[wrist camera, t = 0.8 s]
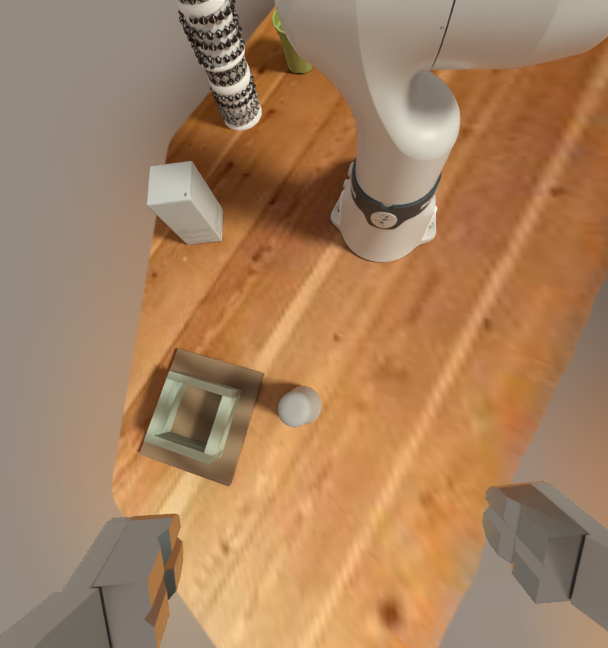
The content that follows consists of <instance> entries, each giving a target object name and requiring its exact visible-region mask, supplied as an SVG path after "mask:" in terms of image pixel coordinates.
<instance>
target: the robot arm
mask: <svg viewBox="0 0 608 648" xmlns="http://www.w3.org/2000/svg"><path fill="white" fill-rule="evenodd" d="M274 1H275V6H276V9H277V13H278V17H279V20H280V22H281V25H282V27H283V30H284V32H285V34H286V36H287V38H288V40H289V42H290V44H291V45H292V47H293V48H294V50H295V51H296V53H297V54H298V55H299V56H300V57H301V58H302V59H303V60H305V61H306V62H308V63H309V64H311V65H312V66H314V67H315V68H316V69H317V70H319V71H320V72H321V73H322V74H323V75H325V76H326V77H327V78H328V79H329V80H330V81H331V83H332V84H333V85H334V86H335V87H336V88H337V90H338V91H339V92H340V94H341V95H342V96H343V98H344V100H345V101H346V103H347V104H348V106H349V108H350V110H351V112H352V115H353V117H354V120H355V125H356V140H357V149H356V158H355V161H354V162H352V163H351V165H350V167H349V170H348V176H349V177H350V178H349V180H348V179H345V181H344V184H343V187H344V190H343V191H342V193H341V195H340V197H339V199H338V201H337V203H336V205H335V207H334V209H333V211H332V213H331V217H330V219H331V221H332V223H333V224H334V225H335V226H336V227H337V228H338V229H339V230H340V231H341V233H342V236H343V238H344V241H345V242H346V244H347V246H348V247H349V248H350V249H351V250H352V251H353V252H354V253H355V254H357V255H358V256H360V257H362V258H364V259H367V260H370V261H375V262H389V261H394V260H397V259H400V258H402V257H404V256H405V255H407V254H408V253H410V252H411V251H412V250H413V249H414V248H415V247H417V246H418V245H420V244H423V243H426V242H429V241H431V240H432V239H433V238H434V237H435V234H436V211H437V207H436V206H435V204H436V199H435V193H436V191H437V189H438V186H439V185H438V184H439V182H440V179H441V172H442V169H443V166H444V164H445V162H446V160H447V158H448V156H449V154H450V152H451V150H452V148H453V146H454V143H455V141H456V139H457V136H458V133H459V128H460V111H459V107H458V104H457V101H456V99H455V97H454V95H453V94H452V92H451V90H450V89H449V87H448V86H447V84H446V83H445V82H444V81H443V80H441V79H440V78H439V77H438V76H436V75H435V74H433V73H432V72H430V71H429V70H447V69H517V68H522V67H527V66H531V65H536V64H541V63H546V62H550V61H554V60H558V59H562V58H566V57H570V56H574V55H578V54H582V53H584V52H586V51H588V50H590V49H592V48H593V47H595V46H596V45H597V44H599V43H600V42H601V41H602V40H604V39H605V38H606V37H607V36H608V0H274ZM338 211H339V212H338ZM429 227H430V229H429ZM485 499H486V501H487V502H488V504H489V505H490V506H489V507H488V508H487V509H486V511H485V512H484V513H483V528H484V531H485V535H486V537H487V539H488V541H489V543H490V545H491V547H492V548H493V549H494V551H495V552H496V553H497V555H498V556H500V557H501V558H503V559H504V560H506V561H507V562H509V563H510V564H511V570H512V574H513V575H514V577H515V578H516V579H517V581H518V582H519V583H520V584H521V586H522V587H523V588H524V590H525V591H526V592H527V594H528V595H529V596H530V597H531V599H532V600H533V601H534V603H535V604H540V603H551V602H562V601H571V604H572V605H574V606H575V607H576V608H578V609H579V610H580V611H582V612H583V613H584V614H586V615H587V616H588V617H590V618H591V619H592V620H594V621H595V622H596V623H598V624H599V625H600V626H602V627H603V628H604V629H606V630H607V631H608V529H606V528H605V527H604V526H603V525H601V524H600V523H599V522H597V521H596V520H595V519H594V518H593V517H591V516H590V515H589V514H587V513H586V512H585V511H584V510H582V509H581V508H580V507H579V506H577V505H576V504H575V503H574V502H572V501H571V500H570V499H569V498H567V497H566V496H565V495H564V494H562V493H561V492H560V491H558V490H557V489H556V488H555V487H553V486H552V485H551V484H549V483H547V482H544V481H538V482H528V483H520V484H509V485H499V486H490V487H489V489H488V490H487V492H486V498H485ZM180 527H181V525H180V518H179V515H178V514H162V515H145V516H134V517H120V518H112V519H111V520H109V521H108V522H107V523H106V524H105V526H104V527H103V529H102V530H101V532H100V533H99V535H98V536H97V538H96V539H95V541H94V543H93V544H92V546H91V547H90V549H89V550H88V552H87V553H86V555H85V556H84V558H83V559H82V561H81V562H80V564H79V565H78V567H77V569H76V570H75V572H74V573H73V575H72V576H71V578H70V579H69V581H68V582H67V584H66V586H65V587H64V588H63V590H62V592H55V593H53V594H51V595H50V596H49V597H47V599H45V600H44V601H42V603H40V604H39V605H37V606H36V607H35V608H34V609H32V610H31V611H30V612H29V613H27V614H26V615H25V616H24V617H22V618H21V619H20V620H19V621H17V622H16V623H15V624H14V625H12V626H11V627H10V628H9V629H7V630H6V631H5V632H3V633H2V634H1V635H0V648H159V647H160V644H161V640H162V637H163V634H164V630H165V627H166V624H167V621H168V617H169V606H168V600H169V599H170V597H171V596H172V595H173V594H174V593H175V592H176V591H177V587H178V584H179V580H180V576H181V570H182V564H183V543H182V541H181V540H180V539H179V538H178V537H177V536H178V533H179V530H180Z"/></svg>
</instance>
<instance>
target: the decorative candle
mask: <svg viewBox="0 0 608 648" xmlns="http://www.w3.org/2000/svg"><path fill="white" fill-rule="evenodd" d="M229 1H230V4H229ZM229 1H228V0H176V2H177V5H178V7H179V15H180V17H179V20H180V22H181V24H183V29H184V32H185V34H187V38H188V40H189V41H190V42H192V43H191V46H192V48H193V49H194V52H195V55H196V57H197V58H198V62H199V64H201V66H202V67H203V68H205V70H206V72H207V77H208V80H209V82H210V84H211V86H210V90H211V91H212V94H213V96H214V98H215V99H216V100H215V101H216V103H217V107H218V108H219V111H220V114H221V115H222V118H223V120H224V122H225V124H226V126H228V127H229V128H230V129H232V130H236V131H243V130H247V129H249V128H252V127H253V126H254V125H255V124H256V123H258V121H259V119H260V117H261V110H262V109H261V107H260V105H259V103H260V101H259V100H258V99H257V98H258V93H256V92H255V91H256V89H255V87H256V85H255V84H254V83H253V75H251V71H250V70H249V67H248V64H247V62H246V59H245V56H244V51H245V46H244V41H243V40H242V39H241V31H242V28H241V27H240V26H239V23H238V14H237V13H236V12H235V10H234V8H235V5H234V4H235V0H229ZM183 17H185V20H184V19H183Z"/></svg>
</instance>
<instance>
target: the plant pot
mask: <svg viewBox="0 0 608 648" xmlns="http://www.w3.org/2000/svg"><path fill="white" fill-rule="evenodd" d="M272 21H273V25H274V27H275V29H276V30H277V32H278V35H279V36H280V39H281V43H282V47H283V50H284V54H285V58H286V61H287V65H288V68H289V70H290V71H291V72H293V73H295V74H297V73H303V74H304V73H307V72H309V71H310V70H311V69H312V68H313V67H314V66H312V65H311V64H309V63H308V62H306V61H305V60H303V59H302V58H301V57H300V56H299V55H298V54H297V53H296V51H295V50H294V48H293V47H292V45H291V44H290V42H289V40H288V38H287V36H286V34H285V32H284V30H283V27H282V25H281V22H280V20H279V17H278V13H277V9H275V11H274V13H273V17H272Z"/></svg>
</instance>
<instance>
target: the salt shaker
mask: <svg viewBox="0 0 608 648" xmlns="http://www.w3.org/2000/svg"><path fill="white" fill-rule="evenodd" d="M320 412H321V399H320V397H319V395H318V393H317V392H316V391H315V390H313V389H312V388H310V387H306V386H300V387H296V388H294V389H293V390H292V391H290V392H288V393H287V394H285V395H284V396H283V397H282V398H281V400H280V402H279V404H278V415H279V417H280V420H281V421H282V422H283V423H285V424H286V425H288V426H291V427H299V426H302V425H305V424H310V423H312V422H313V421H314V420H316V419H317V418H318V416H319V414H320Z"/></svg>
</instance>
